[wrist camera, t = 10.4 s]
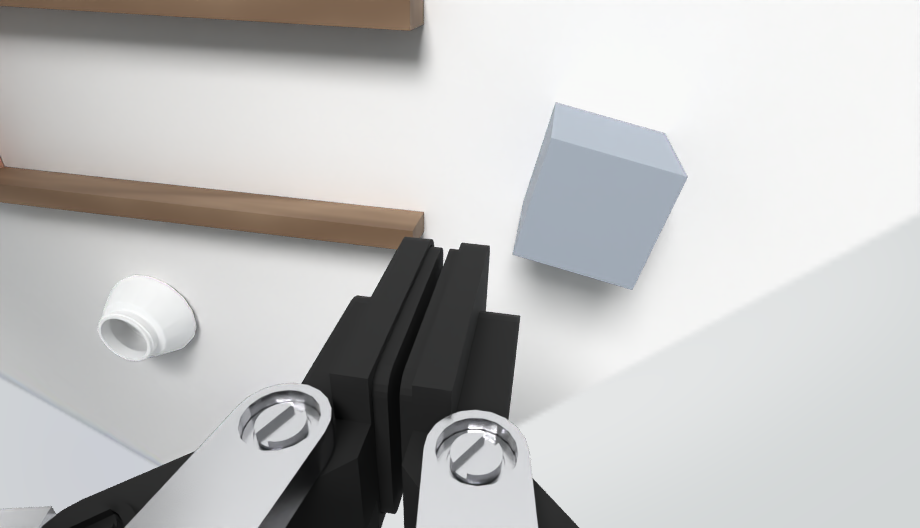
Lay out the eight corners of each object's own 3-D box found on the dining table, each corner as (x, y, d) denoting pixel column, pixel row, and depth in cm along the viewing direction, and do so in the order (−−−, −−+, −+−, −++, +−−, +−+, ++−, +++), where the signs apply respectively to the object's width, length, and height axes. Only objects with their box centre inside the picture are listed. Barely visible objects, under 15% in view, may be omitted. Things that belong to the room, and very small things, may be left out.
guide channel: (-107, -32, 24) (-159, -31, 22) (423, -5, 20) (409, -1, 19) (-13, 181, 29) (-50, 196, 27) (423, 231, 25) (412, 251, 24)
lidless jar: (188, 276, 30) (108, 267, 30) (152, 306, 27) (66, 295, 28) (208, 347, 32) (134, 337, 33) (177, 380, 30) (98, 368, 30)
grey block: (555, 101, 21) (551, 137, 17) (664, 132, 21) (687, 176, 17) (523, 201, 24) (512, 254, 20) (621, 229, 24) (632, 289, 19)
